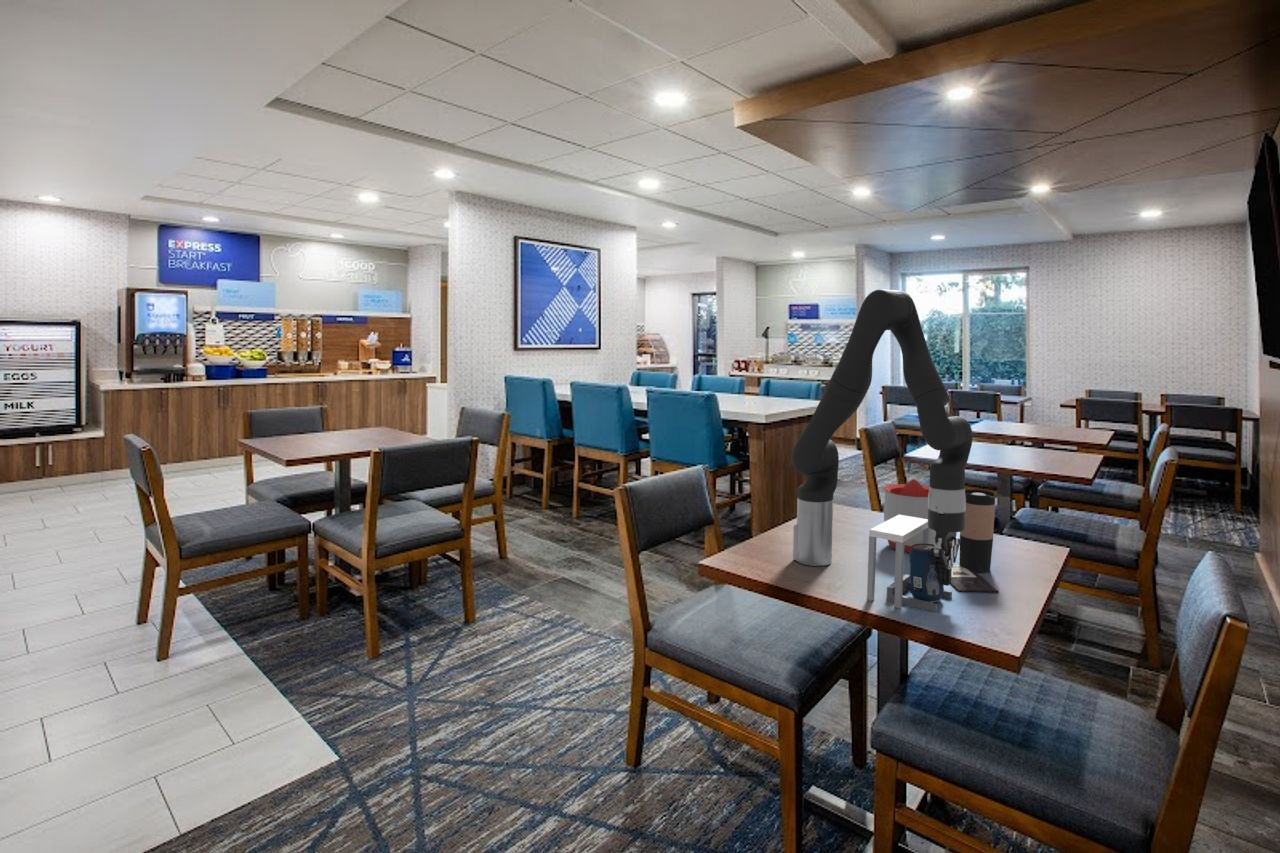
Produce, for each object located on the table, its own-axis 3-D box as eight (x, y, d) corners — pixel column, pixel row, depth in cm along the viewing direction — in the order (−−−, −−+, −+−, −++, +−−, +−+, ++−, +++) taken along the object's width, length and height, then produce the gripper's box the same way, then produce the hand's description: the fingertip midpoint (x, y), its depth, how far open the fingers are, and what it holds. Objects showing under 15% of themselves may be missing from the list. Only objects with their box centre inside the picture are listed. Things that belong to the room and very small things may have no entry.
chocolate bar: (958, 590, 155) (932, 564, 173) (958, 594, 155) (931, 568, 173) (998, 590, 154) (967, 565, 172) (998, 594, 154) (967, 568, 172)
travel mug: (954, 562, 175) (958, 488, 173) (986, 564, 174) (990, 489, 171) (962, 572, 168) (966, 495, 166) (995, 574, 167) (1000, 496, 164)
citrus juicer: (958, 556, 181) (961, 484, 178) (895, 557, 180) (898, 485, 178) (930, 539, 196) (933, 473, 194) (873, 540, 196) (875, 474, 193)
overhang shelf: (866, 599, 151) (869, 529, 149) (896, 579, 163) (898, 514, 161) (930, 616, 141) (933, 541, 139) (956, 593, 154) (959, 524, 152)
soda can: (923, 591, 155) (921, 541, 155) (950, 598, 150) (948, 546, 149) (904, 597, 152) (902, 546, 151) (931, 605, 146) (929, 551, 145)
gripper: (938, 500, 152) (937, 573, 154) (918, 510, 143) (916, 588, 144) (974, 504, 147) (972, 579, 149) (954, 515, 138) (953, 596, 139)
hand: (944, 584), depth 147 cm, fingers closed
